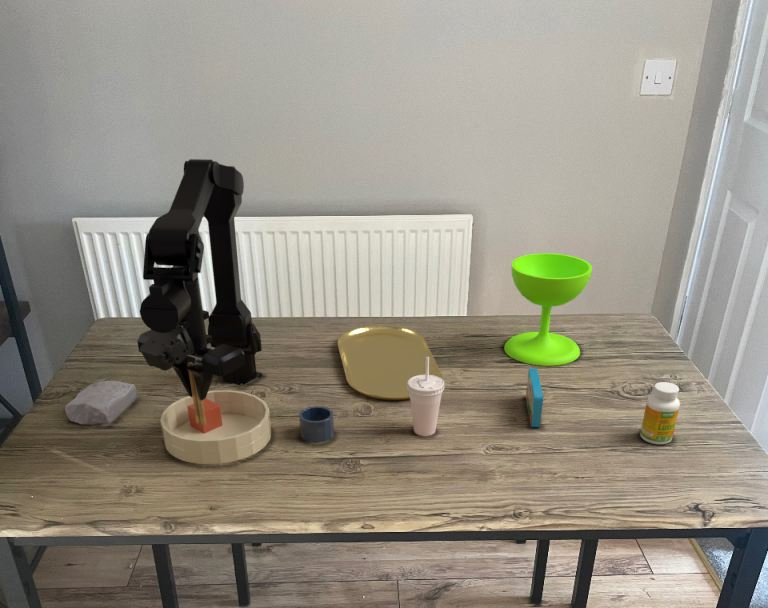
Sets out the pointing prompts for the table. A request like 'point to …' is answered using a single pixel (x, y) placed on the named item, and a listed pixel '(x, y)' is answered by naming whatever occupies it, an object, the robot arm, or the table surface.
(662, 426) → the supplement bottle
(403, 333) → the serving platter
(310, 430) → the holder
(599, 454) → the table surface
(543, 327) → the wineglass
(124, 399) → the stone block
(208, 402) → the block
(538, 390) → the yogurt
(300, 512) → the table surface
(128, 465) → the table surface
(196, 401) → the chopsticks
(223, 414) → the bowl
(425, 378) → the smoothie
